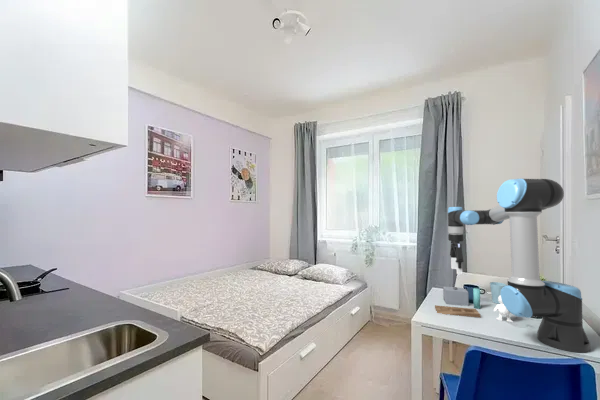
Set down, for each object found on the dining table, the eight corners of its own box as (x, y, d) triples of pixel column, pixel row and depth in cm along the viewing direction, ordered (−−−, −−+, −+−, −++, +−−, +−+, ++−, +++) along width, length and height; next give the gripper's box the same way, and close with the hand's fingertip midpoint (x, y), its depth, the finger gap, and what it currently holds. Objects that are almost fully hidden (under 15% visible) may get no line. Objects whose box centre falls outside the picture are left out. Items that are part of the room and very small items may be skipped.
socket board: (480, 317, 135) (480, 314, 135) (437, 313, 141) (437, 310, 141) (475, 311, 143) (475, 308, 143) (434, 308, 149) (434, 305, 149)
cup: (509, 302, 156) (508, 284, 156) (503, 305, 152) (503, 286, 152) (493, 299, 162) (493, 281, 163) (488, 302, 158) (487, 283, 158)
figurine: (514, 320, 132) (513, 295, 132) (515, 324, 128) (515, 297, 128) (493, 317, 136) (492, 292, 136) (494, 320, 132) (493, 295, 132)
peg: (481, 309, 147) (480, 289, 147) (474, 308, 148) (474, 289, 148) (479, 307, 150) (478, 288, 150) (473, 306, 151) (472, 287, 151)
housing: (468, 305, 152) (468, 290, 152) (446, 303, 155) (445, 288, 155) (464, 301, 160) (464, 286, 160) (443, 299, 163) (443, 284, 163)
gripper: (469, 236, 146) (470, 277, 145) (457, 232, 170) (458, 267, 169) (453, 235, 148) (454, 276, 148) (444, 231, 172) (444, 266, 171)
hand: (456, 271), depth 158 cm, fingers open, 13 cm apart
